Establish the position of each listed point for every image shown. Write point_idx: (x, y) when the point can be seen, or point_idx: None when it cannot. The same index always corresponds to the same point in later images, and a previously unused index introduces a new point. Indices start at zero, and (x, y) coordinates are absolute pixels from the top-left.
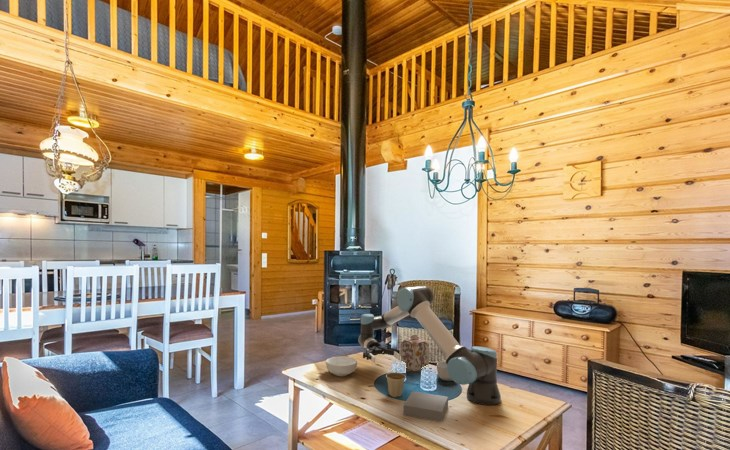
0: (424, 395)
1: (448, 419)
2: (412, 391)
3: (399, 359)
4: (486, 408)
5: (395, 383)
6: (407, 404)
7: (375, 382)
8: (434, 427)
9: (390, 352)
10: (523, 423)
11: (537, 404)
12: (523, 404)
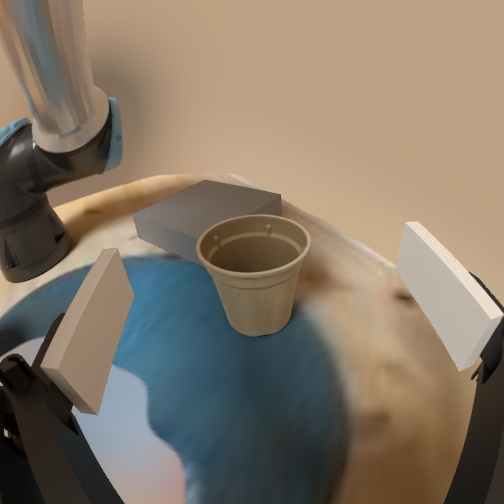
0: (188, 220)
1: None
2: None
3: (126, 288)
4: (79, 228)
5: (268, 238)
6: (268, 195)
7: (334, 475)
8: None
9: (86, 464)
10: (87, 199)
11: None
12: None
